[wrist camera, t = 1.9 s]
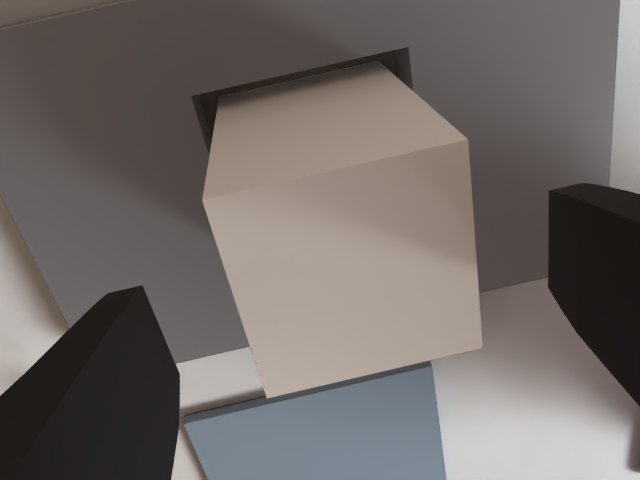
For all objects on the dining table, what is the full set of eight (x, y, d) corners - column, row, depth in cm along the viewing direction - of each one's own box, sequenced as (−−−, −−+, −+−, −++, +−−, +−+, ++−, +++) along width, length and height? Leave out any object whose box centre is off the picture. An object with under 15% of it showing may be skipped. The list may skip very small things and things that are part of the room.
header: (590, -105, 14) (626, -110, 13) (579, 241, 19) (604, 263, 17) (-45, 37, 14) (-76, 47, 12) (107, 350, 18) (96, 381, 17)
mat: (428, 358, 20) (431, 365, 20) (449, 515, 25) (452, 523, 24) (184, 416, 20) (183, 424, 20) (247, 562, 24) (248, 571, 24)
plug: (377, 60, 15) (467, 139, 9) (398, 204, 17) (483, 348, 11) (219, 96, 15) (202, 200, 9) (258, 236, 17) (266, 398, 11)
